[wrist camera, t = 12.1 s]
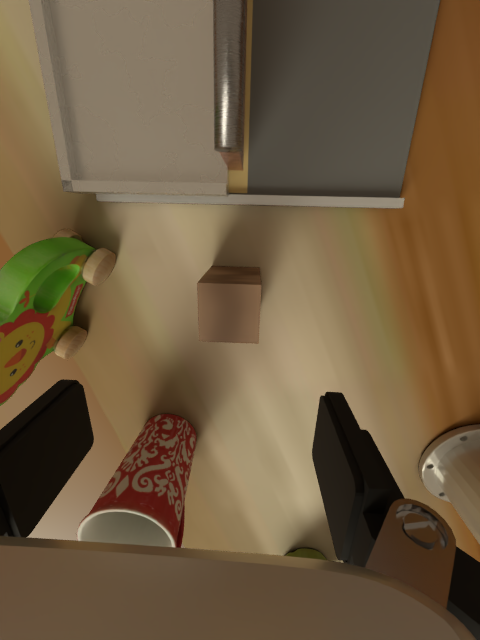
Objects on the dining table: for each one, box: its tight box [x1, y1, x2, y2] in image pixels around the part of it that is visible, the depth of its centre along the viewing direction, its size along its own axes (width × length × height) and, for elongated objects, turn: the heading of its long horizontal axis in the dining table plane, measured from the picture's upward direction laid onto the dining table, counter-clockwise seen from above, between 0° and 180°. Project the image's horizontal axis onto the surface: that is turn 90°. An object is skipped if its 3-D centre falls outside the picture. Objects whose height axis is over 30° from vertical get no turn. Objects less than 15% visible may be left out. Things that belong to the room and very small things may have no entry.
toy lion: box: [0, 229, 116, 406], centre depth 24 cm, size 16×6×15 cm, turn 150°
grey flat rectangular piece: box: [96, 0, 440, 208], centre depth 22 cm, size 28×21×2 cm
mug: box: [77, 414, 197, 548], centre depth 31 cm, size 13×9×14 cm
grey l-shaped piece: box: [29, 0, 247, 197], centre depth 18 cm, size 14×20×11 cm
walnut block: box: [197, 266, 261, 344], centre depth 26 cm, size 5×5×8 cm
